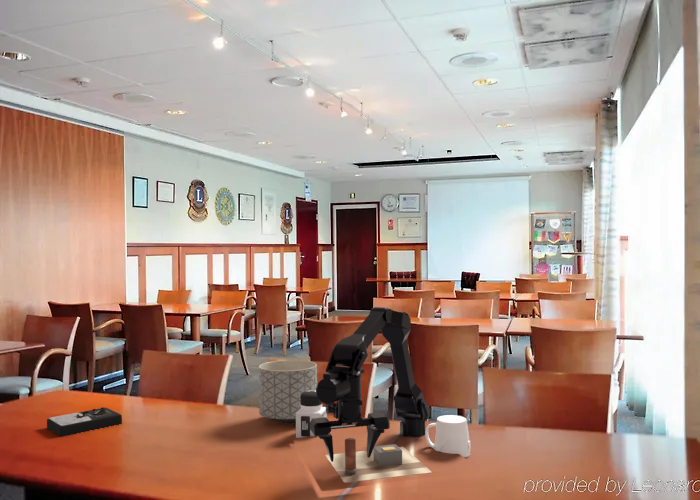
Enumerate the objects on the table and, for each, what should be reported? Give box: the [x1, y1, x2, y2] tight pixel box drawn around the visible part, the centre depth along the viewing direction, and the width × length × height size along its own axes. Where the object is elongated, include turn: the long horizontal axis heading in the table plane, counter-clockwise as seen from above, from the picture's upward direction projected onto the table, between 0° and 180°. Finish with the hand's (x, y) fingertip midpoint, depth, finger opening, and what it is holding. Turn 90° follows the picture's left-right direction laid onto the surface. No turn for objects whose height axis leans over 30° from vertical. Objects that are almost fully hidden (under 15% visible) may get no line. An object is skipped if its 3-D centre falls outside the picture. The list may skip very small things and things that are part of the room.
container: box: [295, 391, 328, 439], centre depth 180 cm, size 8×8×13 cm
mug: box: [424, 414, 471, 458], centre depth 162 cm, size 12×9×8 cm
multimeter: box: [46, 406, 123, 438], centre depth 192 cm, size 13×19×5 cm
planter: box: [258, 359, 318, 425], centre depth 196 cm, size 19×19×18 cm
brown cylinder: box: [344, 437, 357, 475], centre depth 145 cm, size 3×3×8 cm
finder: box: [373, 443, 402, 467], centre depth 152 cm, size 6×5×4 cm
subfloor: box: [324, 446, 432, 484], centre depth 151 cm, size 22×20×1 cm
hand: (350, 459), depth 145 cm, fingers open, 9 cm apart
